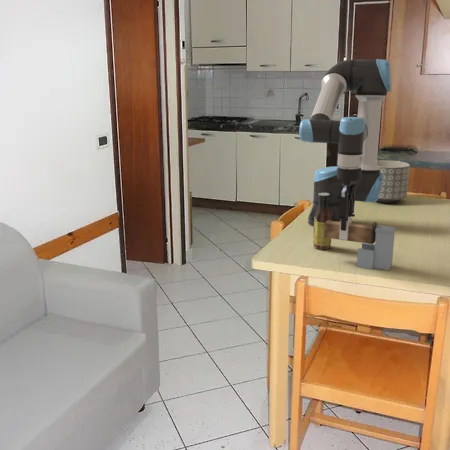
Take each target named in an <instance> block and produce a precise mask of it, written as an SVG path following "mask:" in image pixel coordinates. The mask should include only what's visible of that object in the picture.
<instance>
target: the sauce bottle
mask: <svg viewBox="0 0 450 450" xmlns="http://www.w3.org/2000/svg"><path fill="white" fill-rule="evenodd" d="M329 198H330V194H329V193H319V194H318V207H317V210H316V212H315V215H314V226H313V241H312V243H313V248H314V249H317V250H322V251H325V250H329V249H330V248H331V246H332V245H331V244H332V238H324V230H325V222H327V221H328V220H329V221H332V212H331V210H330V208H329Z"/></svg>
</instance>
